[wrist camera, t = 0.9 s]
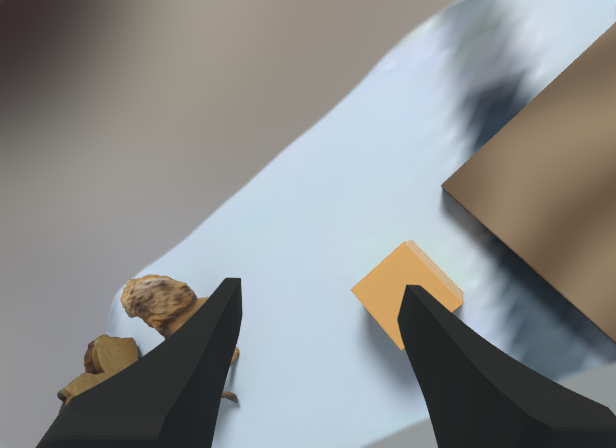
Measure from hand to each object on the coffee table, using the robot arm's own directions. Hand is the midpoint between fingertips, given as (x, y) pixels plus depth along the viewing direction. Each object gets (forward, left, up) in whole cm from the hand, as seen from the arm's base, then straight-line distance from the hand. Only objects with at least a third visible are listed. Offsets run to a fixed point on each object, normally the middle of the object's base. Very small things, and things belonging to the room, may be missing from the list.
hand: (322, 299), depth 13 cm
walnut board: (-6, -15, -13) cm, 21 cm away
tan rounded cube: (-2, 0, -13) cm, 13 cm away
